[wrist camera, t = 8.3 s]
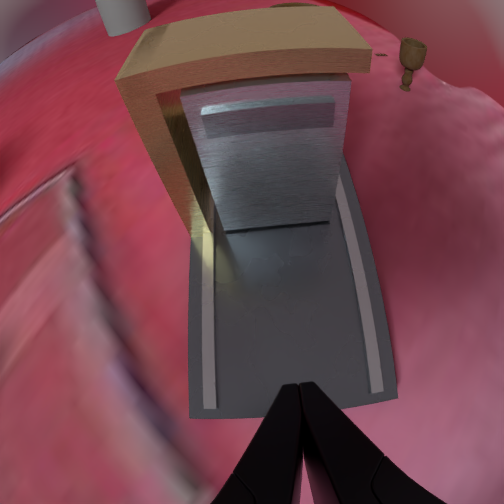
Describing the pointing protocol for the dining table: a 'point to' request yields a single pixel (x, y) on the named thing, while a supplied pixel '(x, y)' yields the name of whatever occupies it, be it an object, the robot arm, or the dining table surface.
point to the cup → (123, 15)
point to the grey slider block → (270, 145)
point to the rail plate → (287, 313)
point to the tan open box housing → (223, 69)
